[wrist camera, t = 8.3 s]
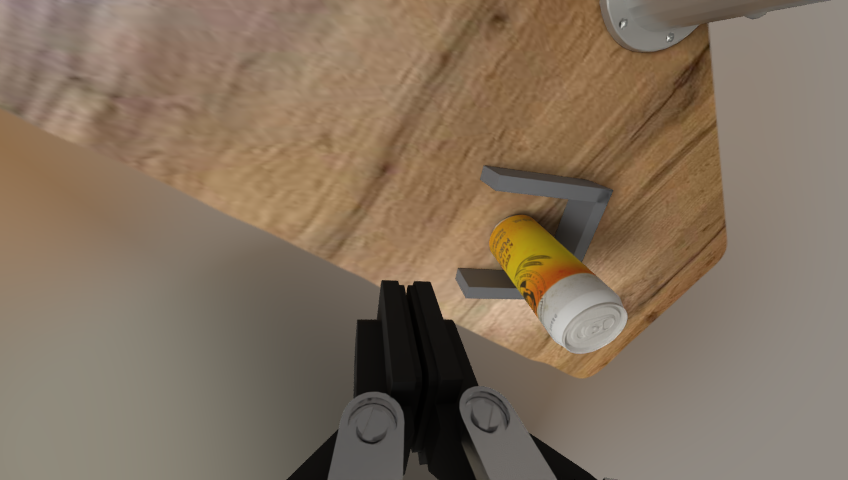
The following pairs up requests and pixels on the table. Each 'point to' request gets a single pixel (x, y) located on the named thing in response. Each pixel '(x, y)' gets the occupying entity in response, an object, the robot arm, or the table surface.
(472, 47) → the table surface
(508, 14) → the table surface
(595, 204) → the corral
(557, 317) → the beer can
